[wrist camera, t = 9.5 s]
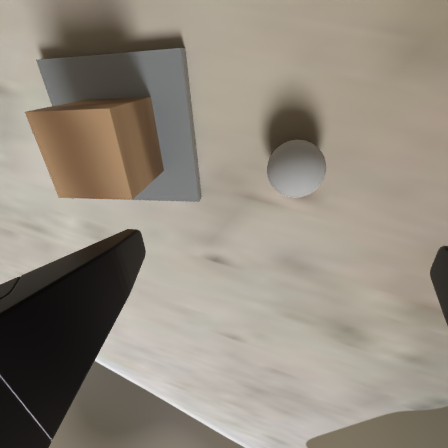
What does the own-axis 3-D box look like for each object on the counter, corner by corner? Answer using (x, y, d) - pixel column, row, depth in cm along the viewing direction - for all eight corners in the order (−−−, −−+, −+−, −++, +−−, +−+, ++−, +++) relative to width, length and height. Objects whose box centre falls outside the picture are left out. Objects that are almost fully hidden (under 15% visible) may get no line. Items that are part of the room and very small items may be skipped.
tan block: (150, 96, 18) (109, 108, 14) (164, 170, 20) (132, 199, 16) (83, 100, 19) (24, 111, 15) (103, 170, 21) (58, 197, 17)
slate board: (185, 48, 17) (180, 47, 16) (201, 197, 22) (198, 201, 21) (45, 59, 19) (36, 59, 18) (90, 194, 24) (84, 198, 23)
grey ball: (325, 133, 18) (333, 148, 15) (319, 185, 20) (325, 208, 17) (269, 134, 18) (265, 149, 15) (268, 184, 20) (264, 206, 17)
